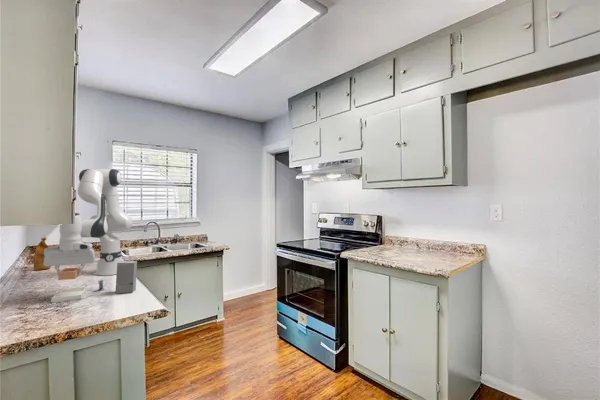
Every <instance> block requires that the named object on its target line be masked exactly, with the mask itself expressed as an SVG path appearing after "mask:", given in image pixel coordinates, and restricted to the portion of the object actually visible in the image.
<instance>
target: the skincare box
mask: <svg viewBox="0 0 600 400" xmlns="http://www.w3.org/2000/svg"><path fill="white" fill-rule="evenodd" d="M137 271H138V261H137V260H123V261H121V262H118V263H117V274H115V275H116V276H115V278H116V279H115V294H116V295H119V294H129V293H130V294H131V293H132V294H133V293H134V292H135V291H136V288H137Z"/></svg>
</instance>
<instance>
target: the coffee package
mask: <svg viewBox="0 0 600 400" xmlns="http://www.w3.org/2000/svg"><path fill="white" fill-rule="evenodd" d="M40 239H41V241H39V243H38V244H37V246H36V248H35V251H34V255H33V270H34V271H42V270H47V269H48V270H49V269H50V268H51V267H52V266H47V267H46V266H44V258H45V256H44V250H45V249H46V248H48V247H49V245H47V243H46V240H47V237H45V236H44V237H41V238H40Z"/></svg>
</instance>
